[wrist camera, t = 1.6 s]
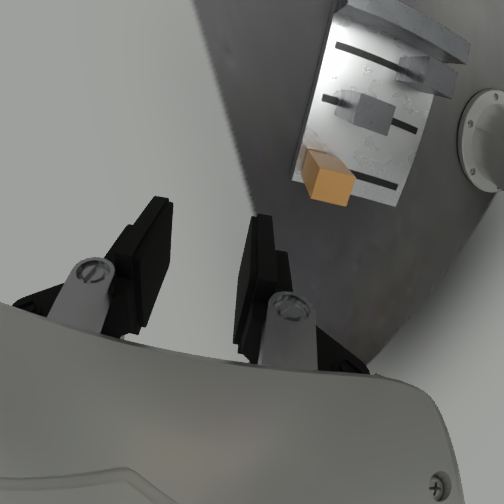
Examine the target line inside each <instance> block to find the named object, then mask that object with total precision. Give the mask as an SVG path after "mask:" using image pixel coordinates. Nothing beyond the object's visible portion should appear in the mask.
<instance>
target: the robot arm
mask: <svg viewBox="0 0 504 504" xmlns="http://www.w3.org/2000/svg"><path fill="white" fill-rule="evenodd" d="M458 154H459V159H460V163H461V166H462V168H463V171H464V173H465V175H466V176H467V178H468V179H469V180H470V181H471V183H472V184H474V185H475V186H476V187H477V188H479V189H481V190H483V191H484V192H489V193H494V192H499V191H502V190H503V191H504V92H503V91H500V90H495V89H486V90H483V91H481V92H479V93H477V94H476V95H475V96H474V97H473V98H472V99H471V100H470V101H469V103H468V104H467V106H466V108H465V110H464V112H463V115H462V118H461V120H460V125H459V130H458ZM172 215H173V203H172V202H169V199H168V198H164V197H157V196H154V197H153V199H152V200H151V201H150V203H149V204H148V205H147V207H146V208H145V209H144V211H143V212H142V214H141V215H140V216H139V218H138V219H137V220H136V222H135V223H134V225H127V226H126V227H125V229H124V230H123V232H122V233H121V234H120V236H119V237H118V239H117V240H116V241H115V243H114V244H113V246H112V247H111V249H110V250H109V251H108V253H107V254H106V256H105V257H104V258H99V257H93V258H87V259H85V260H82V261H80V262H79V263H77V264H76V266H74V268H73V269H72V271H71V272H70V274H69V276H68V278H67V280H66V281H65V283H63V284H60V285H57V286H54V287H51V288H49V289H46V290H43V291H40V292H37V293H34V294H32V295H29V296H26V297H23V298H21V299H19V300H17V301H16V302H15V303H14V304H13V305H12V306H10V305H7V304H4V303H1V302H0V504H465V502H464V495H463V490H462V484H461V478H460V474H459V469H458V464H457V460H456V456H455V453H454V449H453V446H452V442H451V439H450V436H449V433H448V430H447V427H446V425H445V422H444V420H443V417H442V415H441V413H440V411H439V409H438V407H437V405H436V404H435V402H434V401H433V399H432V398H431V397H430V396H429V395H428V394H427V393H426V392H424V391H423V390H421V389H419V388H417V387H415V386H413V385H411V384H408V383H405V382H402V381H400V380H396V379H391V378H387V377H384V376H381V375H379V374H377V373H375V374H374V375H370V373H369V370H368V368H367V367H366V365H365V364H364V363H363V362H362V361H361V360H360V359H358V358H357V357H356V356H354V355H353V354H352V353H351V352H349V351H348V350H347V349H345V348H344V347H343V346H342V345H340V344H339V343H338V342H336V341H335V340H334V339H333V338H331V337H330V336H329V335H327V334H326V333H325V332H324V331H322V330H321V329H320V328H319V327H317V326H316V321H315V310H314V307H313V305H312V304H311V302H310V301H309V300H307V299H306V298H305V297H303V296H302V295H300V294H297V293H294V292H293V289H292V281H291V274H290V267H289V260H288V254H287V252H285V251H279V250H275V244H274V233H273V222H272V216H268V215H263V214H257V217H254V216H252V217H251V221H250V225H249V230H248V234H247V239H246V244H245V248H244V253H243V257H242V262H241V266H240V271H239V276H238V285H237V298H236V310H235V321H234V334H233V344H238V353H239V354H243V355H245V357H246V358H247V359H248V360H249V362H248V363H243V362H236V361H229V360H222V359H216V358H210V357H204V356H198V355H192V354H187V353H182V352H176V351H171V350H166V349H162V348H157V347H152V346H148V345H143V344H139V343H135V342H130V341H126V340H124V335H125V334H128V333H132V334H136V335H138V334H139V332H140V329H141V327H146V325H147V323H148V320H149V317H150V315H151V312H152V309H153V307H154V303H155V301H156V299H157V296H158V293H159V290H160V288H161V285H162V283H163V280H164V277H165V275H166V272H167V270H168V267H169V263H170V250H171V231H172Z"/></svg>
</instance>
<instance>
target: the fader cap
mask: <svg viewBox="0 0 504 504" xmlns="http://www.w3.org/2000/svg"><path fill="white" fill-rule="evenodd" d="M301 176H302V178H303V181H304V183H305V186H306V188H307V191H308V193H309V196H310V198H311V199H315V200H320V201H324V202H328V203H333V204H337V205H341V206H345V207H346V205H347V202H348V199H349V197H350V194H351V191H352V188H353V185H354V182H355V179H356V177H355V176H354V174H353V173H352V172H351V171H350V170H349V169H348V168H347V167H346V165H345V164H344V163H343V162H342V161H341V160H340V159H339V158H338V157H334V156H330V155H327V154H323V153H319V152H315V151H311V150H308V152H307V156H306V159H305V163H304V166H303V170H302V174H301Z"/></svg>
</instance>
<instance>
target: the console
mask: <svg viewBox="0 0 504 504" xmlns="http://www.w3.org/2000/svg"><path fill="white" fill-rule="evenodd" d="M469 50H470V43H469V42H467V41H466V40H465V39H463V38H462V37H460V36H459V35H457V34H456V33H454V32H453V31H451V30H450V29H448V28H446V27H445V26H443V25H442V24H440V23H438V22H437V21H435V20H433V19H431V18H430V17H428V16H426V15H424V14H423V13H421V12H419V11H417V10H415V9H413V8H411V7H409V6H407V5H405V4H403V3H401V2H399V1H397V0H333V3H332V7H331V11H330V16H329V20H328V24H327V28H326V32H325V37H324V41H323V45H322V49H321V53H320V57H319V61H318V65H317V70H316V74H315V78H314V82H313V86H312V90H311V94H310V98H309V102H308V106H307V110H306V114H305V117H304V121H303V125H302V129H301V133H300V137H299V141H298V145H297V148H296V152H295V156H294V160H293V164H292V168H291V171H290V176H291V179H292V181H297V182H301V183H304V181H303V178H302V176H301V174H302V170H303V166H304V163H305V159H306V156H307V152H308V150H311V151H315V152H319V153H323V154H327V155H330V156H334V157H338V158H339V159H340V160H341V161H342V162H343V163H344V164H345V165H346V167H347V168H348V169H349V170H350V171H351V172H352V173H353V174H354V176H355V177H356V179H355V182H354V185H353V188H352V191H351V195H355V196H358V197H362V198H366V199H369V200H373V201H377V202H380V203H384V204H387V205H391V206H394V207H396V205H397V202H398V200H399V197H400V195H401V192H402V190H403V187H404V184H405V182H406V179H407V177H408V174H409V171H410V169H411V166H412V163H413V160H414V157H415V155H416V152H417V149H418V146H419V143H420V140H421V137H422V134H423V130H424V127H425V124H426V121H427V117H428V114H429V111H430V107H431V104H432V100H433V96H434V95H437V96H441V97H446V98H450V99H451V98H452V94H453V91H454V87H455V82H456V78H457V74H458V73H457V72H456V71H454V70H453V69H451V68H450V67H448V66H446V65H445V64H443V63H455V64H466V65H467V60H468V55H469Z"/></svg>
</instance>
